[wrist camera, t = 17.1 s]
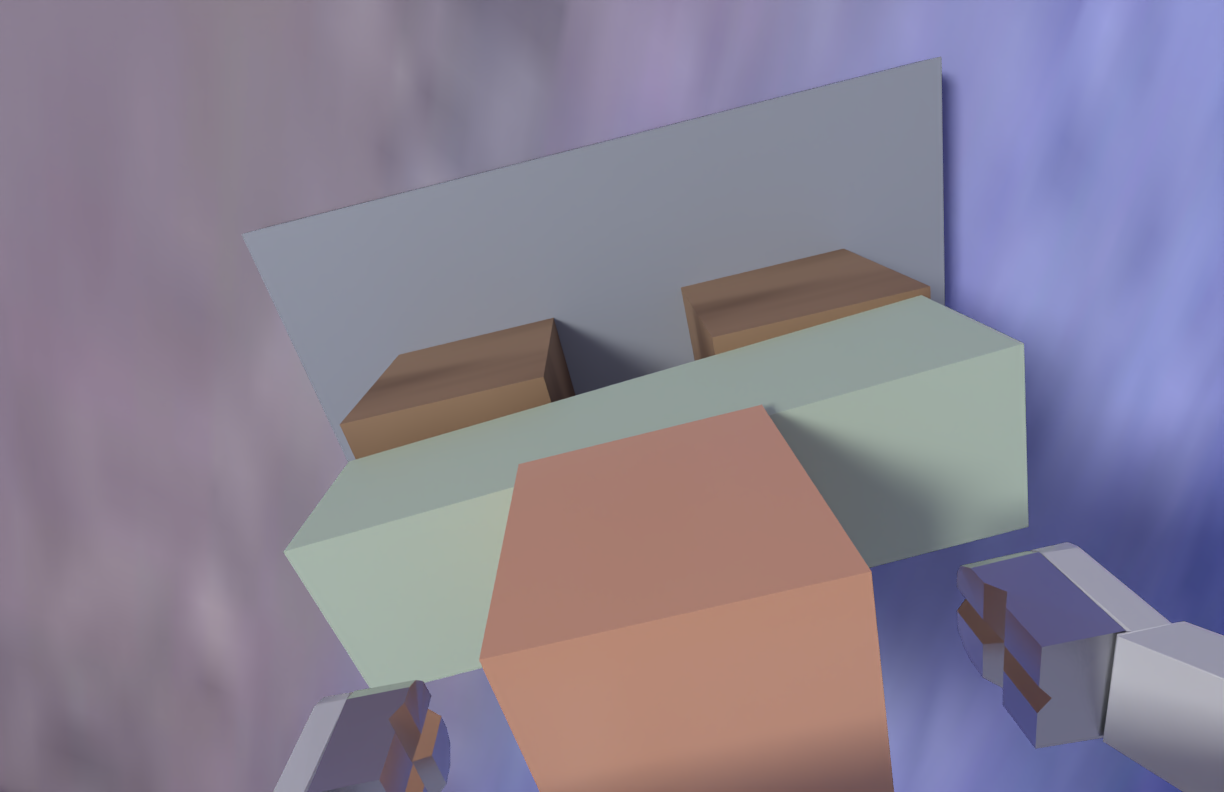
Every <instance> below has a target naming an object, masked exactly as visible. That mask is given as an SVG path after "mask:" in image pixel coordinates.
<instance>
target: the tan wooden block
mask: <svg viewBox="0 0 1224 792" xmlns="http://www.w3.org/2000/svg"><path fill="white" fill-rule="evenodd" d="M681 292H682V297H683V302H684V307H685V313H686V318H687V323H688V328H689V334H690V339H691V344H692V349H693V355H694V360H695V361H696V360H700V359H703V358H707V357H710V356H713V355H717V354H720V353H724V352H727V351H731V350H734V349H737V348H741V347H744V346H748V345H751V344H755V343H758V342H762V341H765V340H768V339H772V338H775V337H779V336H782V335H786V334H789V333H792V332H796V331H799V330H803V329H806V328H810V327H813V326H817V325H820V324H823V323H827V322H830V321H834V320H837V319H841V318H844V317H847V316H851V315H854V314H858V313H861V312H865V311H868V310H872V309H875V308H878V307H882V306H885V305H889V304H892V303H896V302H899V301H902V300H906V299H909V298H913V297H916V296H920V295H923V296H925V297H927V298H929V299H931V291H930V286H928V285H926V284H924V283H921V282H919V281H917V280H915V279H912V278H910V277H908V276H905V275H903V274H901V273H899V272H896V271H894V270H892V269H889V268H887V267H885V266H883V265H880V264H878V263H876V262H873V261H871V260H869V259H867V258H864V257H862V256H860V255H857V254H855V253H853V252H851V251H848V250H846V249H839V250H835V251H831V252H827V253H823V254H819V255H814V256H810V257H806V258H802V259H798V260H793V261H789V262H785V263H781V264H777V265H773V266H768V267H764V268H760V269H756V270H752V271H748V272H743V273H739V274H735V275H731V276H727V277H722V278H718V279H714V280H710V281H706V282H702V283H697V284H693V285H689V286H685V287H681Z"/></svg>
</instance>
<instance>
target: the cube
mask: <svg viewBox="0 0 1224 792" xmlns="http://www.w3.org/2000/svg"><path fill="white" fill-rule="evenodd" d="M479 661H480V663H481V665H482V667H483V670H484V672H485V674H486V676H487V678H488V680H489V683H490V685H491V687H492V689H493V691H494V693H495V696H496V698H497V700H498V702H499V704H500V706H501V709H502V711H503V713H504V715H505V717H506V720H507V722H508V724H509V726H510V728H511V730H512V733H513V735H514V737H515V739H516V741H517V743H518V746H519V748H520V750H521V752H522V754H523V756H524V759H525V761H526V763H527V765H528V767H529V769H530V772H531V774H532V776H533V778H534V780H535V782H536V785H537V787H538V789H539V791H540V792H894V787H893V778H892V768H891V758H890V748H889V738H888V729H887V719H886V709H885V699H884V690H883V680H882V670H881V660H880V650H879V641H878V631H877V621H876V611H875V602H874V592H873V582H872V572H871V570H870V569H869V567H868V566H867V564H866V562H865V561H864V559H863V558H862V556H861V555H860V553H859V552H858V550H857V549H856V547H855V546H854V544H853V543H852V541H851V540H850V538H849V537H848V535H847V534H846V532H845V531H844V529H843V527H842V526H841V524H840V523H839V521H838V520H837V518H836V517H835V515H834V514H833V512H832V511H831V509H830V508H829V506H828V505H827V503H826V502H825V500H824V499H823V497H822V495H821V494H820V492H819V491H818V489H817V488H816V486H815V485H814V483H813V482H812V480H811V479H810V477H809V476H808V474H807V473H806V471H805V470H804V468H803V467H802V465H801V464H800V462H799V460H798V459H797V457H796V456H795V454H794V453H793V451H792V450H791V448H790V447H789V445H788V444H787V442H786V441H785V439H784V438H783V436H782V435H781V433H780V432H779V430H778V428H777V427H776V425H775V424H774V422H773V421H772V419H771V418H770V416H769V415H768V413H767V412H766V410H765V409H764V407H763V406H762V405H758V406H754V407H750V408H746V409H742V410H738V411H734V412H730V413H726V414H722V415H718V416H713V417H709V418H705V419H701V420H697V421H693V422H689V423H685V424H681V425H677V426H673V427H669V428H664V429H660V430H656V431H652V432H648V433H644V434H640V435H636V436H632V437H628V438H624V439H620V440H615V441H611V442H607V443H603V444H599V445H595V446H591V447H587V448H583V449H579V450H575V451H570V452H566V453H562V454H558V455H554V456H550V457H546V458H542V459H538V460H534V461H530V462H526V463H521V464H519V465H518V470H517V475H516V480H515V485H514V490H513V494H512V499H511V504H510V509H509V514H508V519H507V524H506V529H505V534H504V539H503V544H502V549H501V554H500V559H499V564H498V569H497V574H496V579H495V583H494V588H493V593H492V598H491V603H490V608H489V613H488V618H487V623H486V628H485V633H484V638H483V643H482V648H481V653H480V658H479Z"/></svg>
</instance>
